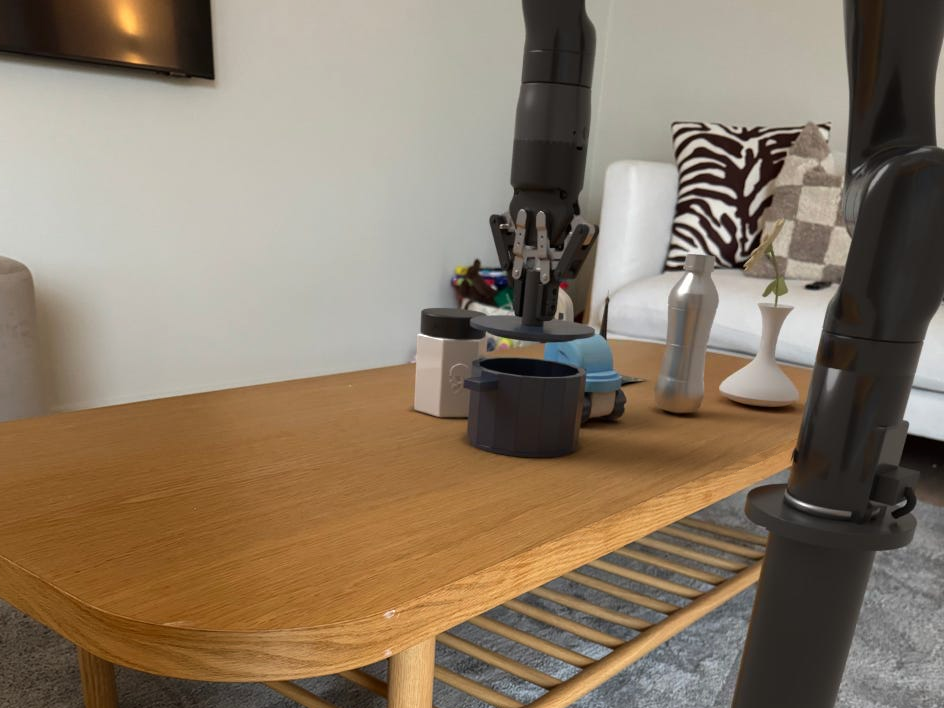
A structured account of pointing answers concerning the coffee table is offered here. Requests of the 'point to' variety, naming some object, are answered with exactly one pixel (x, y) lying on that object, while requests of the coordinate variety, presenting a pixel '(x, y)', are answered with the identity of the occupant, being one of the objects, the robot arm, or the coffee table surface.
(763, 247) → the flower in vase
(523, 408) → the pot
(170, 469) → the coffee table surface
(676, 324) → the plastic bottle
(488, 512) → the coffee table surface
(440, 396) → the jar
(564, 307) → the toy excavator
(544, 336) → the lid
